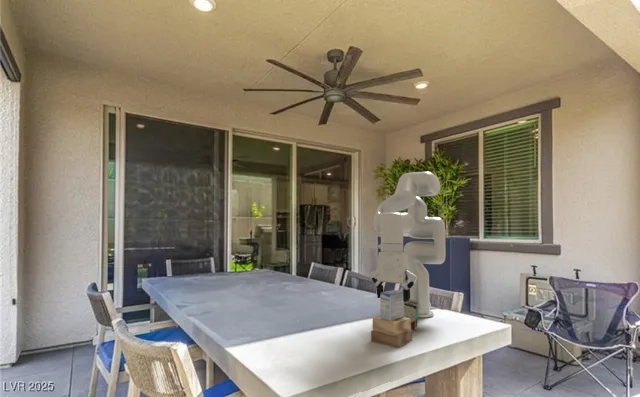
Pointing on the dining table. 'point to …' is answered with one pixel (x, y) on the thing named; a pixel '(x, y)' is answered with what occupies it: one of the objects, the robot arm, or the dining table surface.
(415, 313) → the food container
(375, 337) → the tower base block
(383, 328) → the tower top block
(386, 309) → the medicine box
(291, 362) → the dining table surface
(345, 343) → the dining table surface
